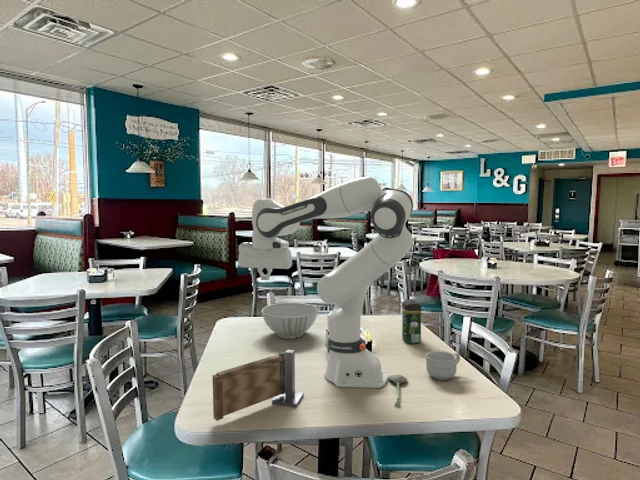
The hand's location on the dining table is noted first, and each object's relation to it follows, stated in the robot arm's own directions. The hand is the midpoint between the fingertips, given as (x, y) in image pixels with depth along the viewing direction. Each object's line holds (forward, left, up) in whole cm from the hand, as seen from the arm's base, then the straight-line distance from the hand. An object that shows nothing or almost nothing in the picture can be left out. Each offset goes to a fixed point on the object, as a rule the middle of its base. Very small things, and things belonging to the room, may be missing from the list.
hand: (265, 279), depth 154 cm
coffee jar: (-52, -45, -34) cm, 77 cm away
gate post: (-16, +22, -34) cm, 43 cm away
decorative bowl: (+4, -40, -34) cm, 53 cm away
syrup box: (-20, -30, -34) cm, 50 cm away
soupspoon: (-49, +6, -35) cm, 61 cm away
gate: (-8, +31, -32) cm, 45 cm away
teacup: (-65, -9, -34) cm, 74 cm away
